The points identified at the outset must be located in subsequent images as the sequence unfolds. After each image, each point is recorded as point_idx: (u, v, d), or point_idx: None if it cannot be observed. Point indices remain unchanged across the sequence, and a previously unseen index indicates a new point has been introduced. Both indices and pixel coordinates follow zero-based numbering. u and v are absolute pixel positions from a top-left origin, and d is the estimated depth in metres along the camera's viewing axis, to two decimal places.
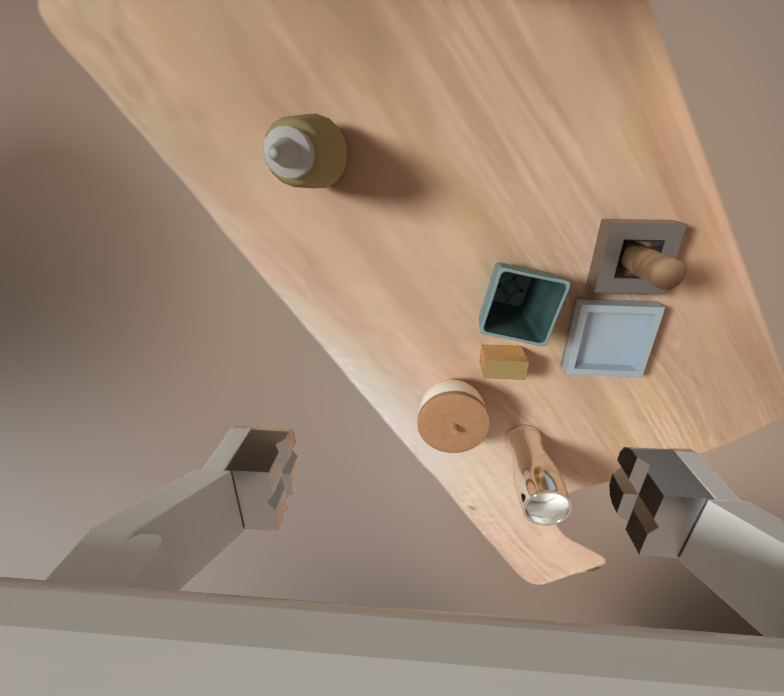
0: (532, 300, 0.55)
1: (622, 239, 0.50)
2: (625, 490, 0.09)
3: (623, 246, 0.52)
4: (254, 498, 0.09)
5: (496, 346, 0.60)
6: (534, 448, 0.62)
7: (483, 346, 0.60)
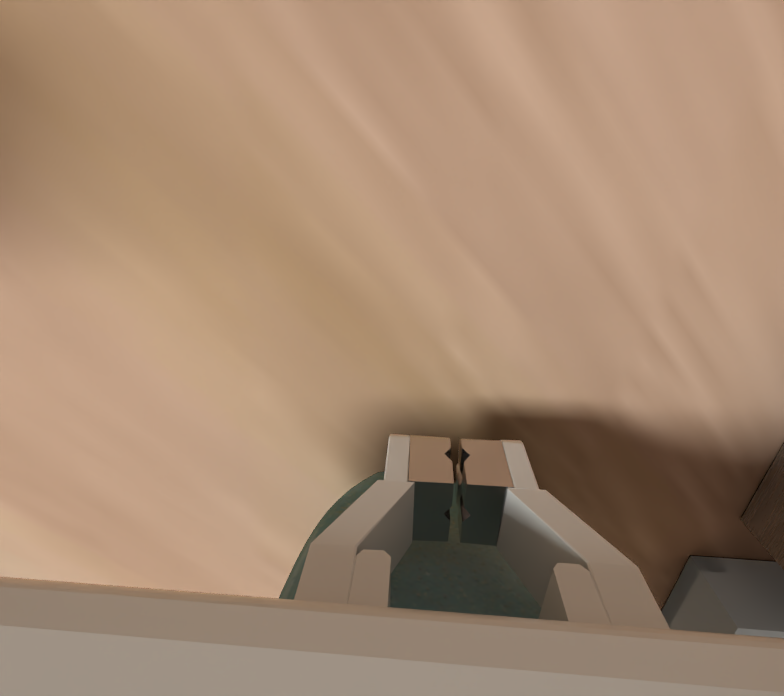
0: None
1: None
2: (460, 480, 0.10)
3: None
4: (431, 509, 0.08)
5: None
6: None
7: None
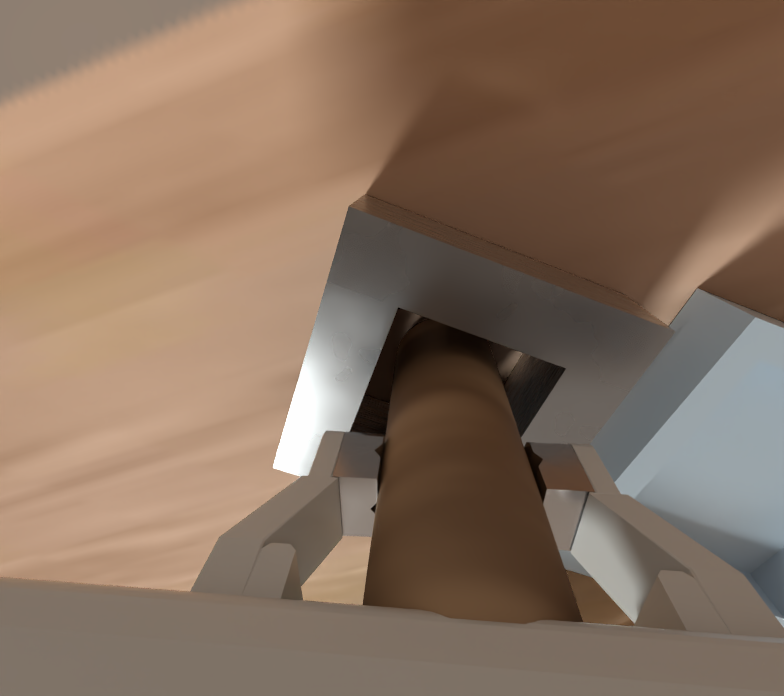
0: None
1: None
2: None
3: None
4: (358, 505, 0.09)
5: None
6: None
7: None
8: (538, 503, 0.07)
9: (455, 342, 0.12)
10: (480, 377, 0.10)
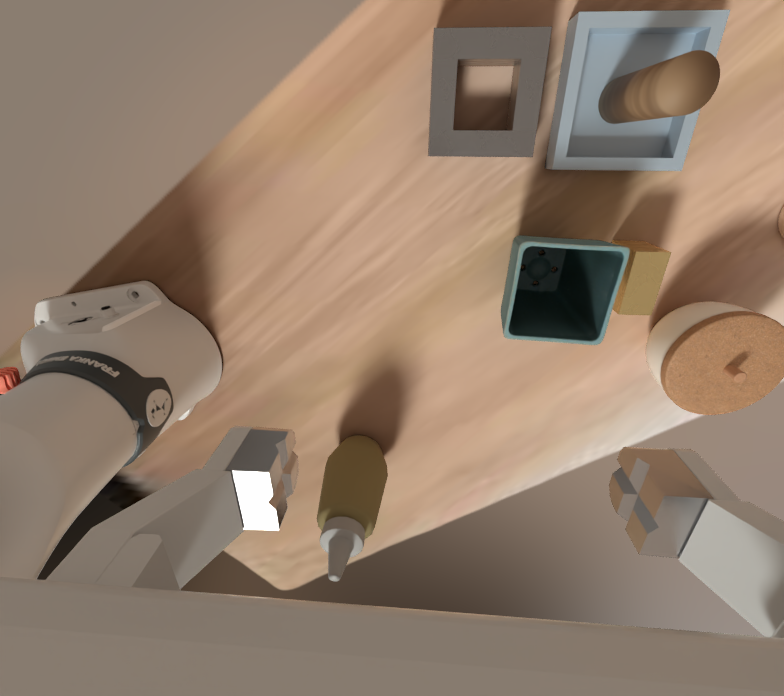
0: None
1: (453, 132, 0.34)
2: (625, 490, 0.09)
3: (604, 113, 0.34)
4: (254, 498, 0.09)
5: None
6: None
7: None
8: None
9: None
10: None
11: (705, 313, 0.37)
